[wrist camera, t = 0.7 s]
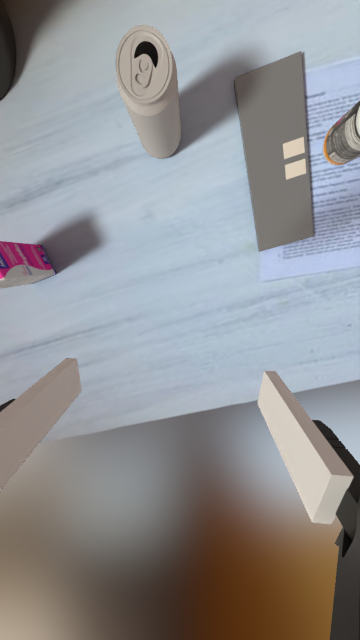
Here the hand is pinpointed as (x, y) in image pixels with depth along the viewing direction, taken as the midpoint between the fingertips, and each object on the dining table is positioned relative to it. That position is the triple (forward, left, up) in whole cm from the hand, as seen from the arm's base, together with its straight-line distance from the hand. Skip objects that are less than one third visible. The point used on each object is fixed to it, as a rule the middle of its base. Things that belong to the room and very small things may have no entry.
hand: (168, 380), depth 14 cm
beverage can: (-26, +4, -26) cm, 37 cm away
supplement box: (-14, -25, -26) cm, 39 cm away
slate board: (-17, +20, -26) cm, 37 cm away
